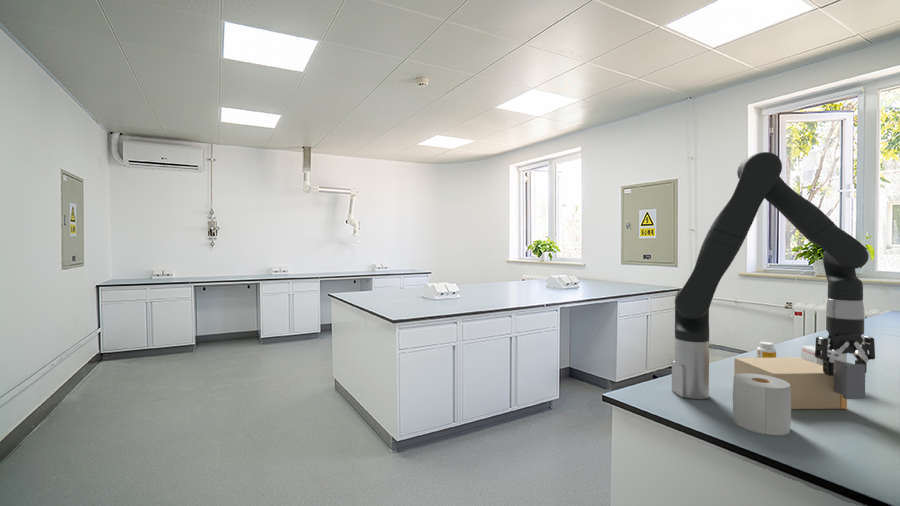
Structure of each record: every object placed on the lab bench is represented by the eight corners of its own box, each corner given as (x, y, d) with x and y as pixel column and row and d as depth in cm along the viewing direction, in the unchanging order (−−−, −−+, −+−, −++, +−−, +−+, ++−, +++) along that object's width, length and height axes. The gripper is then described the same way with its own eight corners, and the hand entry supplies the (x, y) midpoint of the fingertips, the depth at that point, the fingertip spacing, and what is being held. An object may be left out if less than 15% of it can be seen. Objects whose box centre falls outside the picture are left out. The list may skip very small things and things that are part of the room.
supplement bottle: (780, 372, 149) (780, 344, 149) (767, 374, 148) (767, 345, 148) (765, 368, 155) (765, 340, 155) (752, 369, 154) (753, 341, 153)
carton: (773, 409, 117) (773, 373, 117) (734, 389, 133) (734, 358, 133) (844, 408, 117) (844, 372, 117) (796, 388, 133) (797, 357, 133)
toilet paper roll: (745, 412, 116) (745, 370, 115) (799, 428, 106) (799, 382, 105) (723, 422, 109) (724, 378, 109) (779, 440, 99) (779, 392, 99)
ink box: (847, 389, 132) (848, 352, 132) (816, 387, 134) (817, 351, 134) (828, 380, 141) (829, 345, 141) (800, 379, 143) (800, 344, 142)
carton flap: (791, 417, 111) (792, 366, 111) (773, 408, 117) (773, 359, 117) (866, 416, 111) (867, 365, 111) (844, 407, 117) (845, 358, 117)
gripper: (831, 318, 110) (831, 379, 110) (885, 317, 110) (884, 379, 110) (806, 313, 118) (806, 371, 118) (857, 313, 118) (857, 370, 118)
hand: (844, 374), depth 114 cm, fingers open, 8 cm apart
